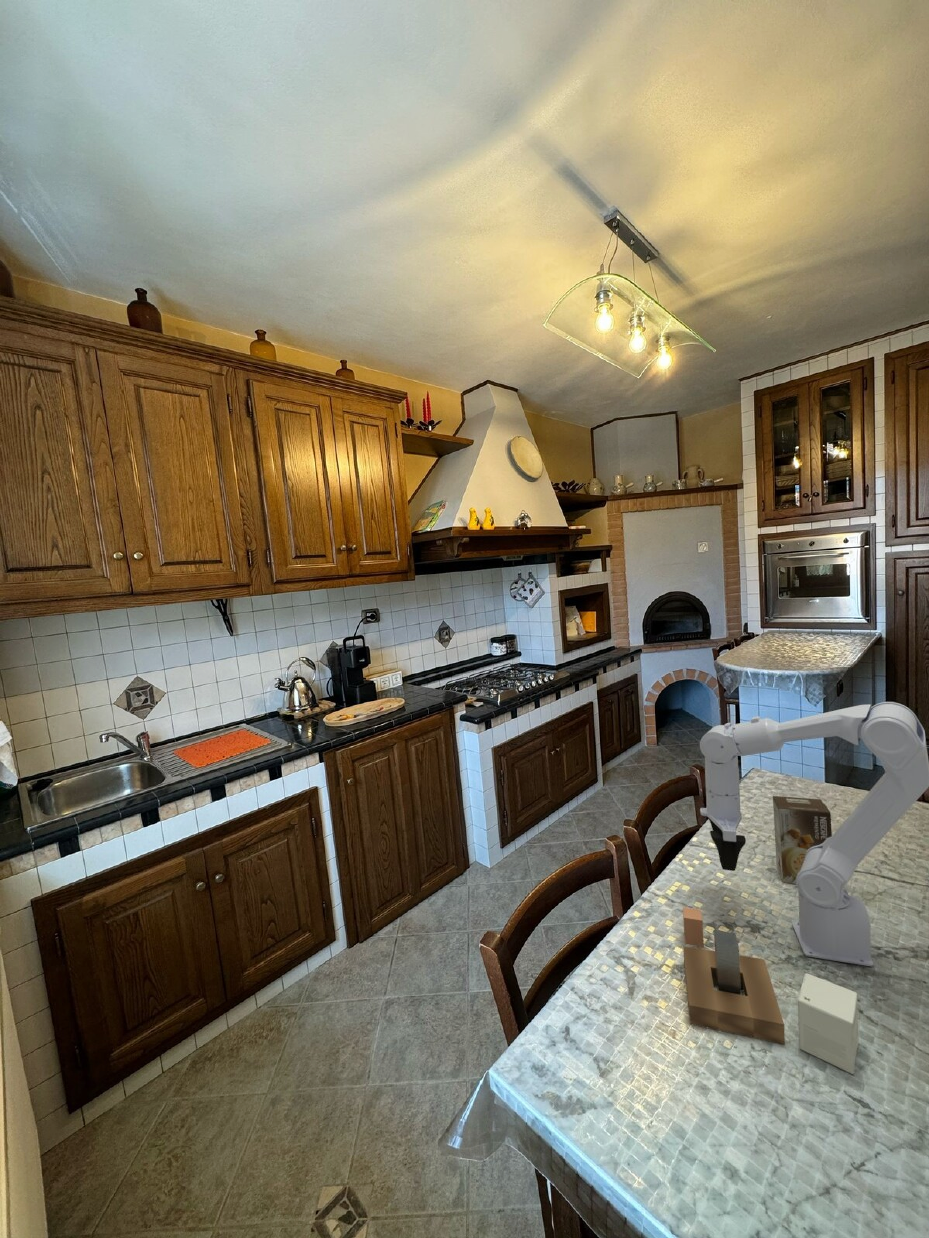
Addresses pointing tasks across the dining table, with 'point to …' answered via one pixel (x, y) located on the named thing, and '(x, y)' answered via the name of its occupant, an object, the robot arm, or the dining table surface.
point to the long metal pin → (727, 962)
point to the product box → (828, 1022)
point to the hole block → (732, 998)
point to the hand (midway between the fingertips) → (725, 857)
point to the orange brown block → (693, 926)
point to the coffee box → (798, 832)
